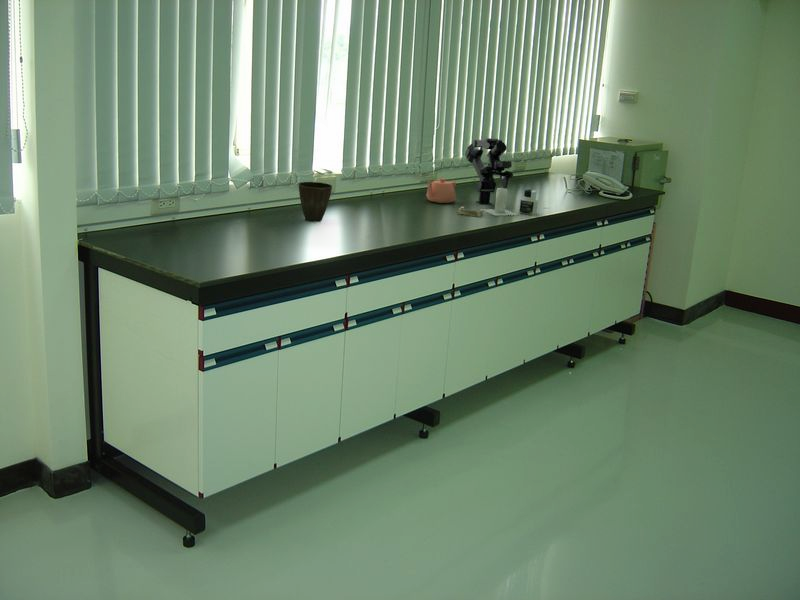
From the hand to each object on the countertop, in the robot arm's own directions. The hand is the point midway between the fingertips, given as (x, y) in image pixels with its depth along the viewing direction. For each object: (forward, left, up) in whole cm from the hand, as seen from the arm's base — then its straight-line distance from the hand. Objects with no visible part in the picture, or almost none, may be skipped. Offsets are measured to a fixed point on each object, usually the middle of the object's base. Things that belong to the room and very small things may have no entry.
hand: (499, 188), depth 437 cm
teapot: (-22, -23, -11) cm, 34 cm away
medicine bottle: (+9, +13, -11) cm, 20 cm away
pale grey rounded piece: (+9, -3, -11) cm, 15 cm away
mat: (+8, -3, -11) cm, 14 cm away
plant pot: (+20, -105, -11) cm, 107 cm away
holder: (+10, -21, -11) cm, 26 cm away
